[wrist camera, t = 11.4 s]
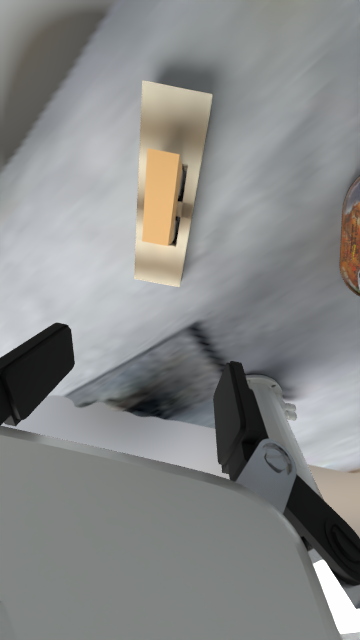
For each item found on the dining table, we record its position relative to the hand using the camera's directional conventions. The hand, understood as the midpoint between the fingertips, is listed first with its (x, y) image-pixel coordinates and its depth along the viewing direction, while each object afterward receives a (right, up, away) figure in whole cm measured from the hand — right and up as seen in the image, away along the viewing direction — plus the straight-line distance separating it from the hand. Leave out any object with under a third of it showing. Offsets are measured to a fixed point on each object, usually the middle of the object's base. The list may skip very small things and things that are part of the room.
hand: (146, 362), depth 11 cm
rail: (0, +18, +14) cm, 23 cm away
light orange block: (0, +18, +14) cm, 23 cm away
